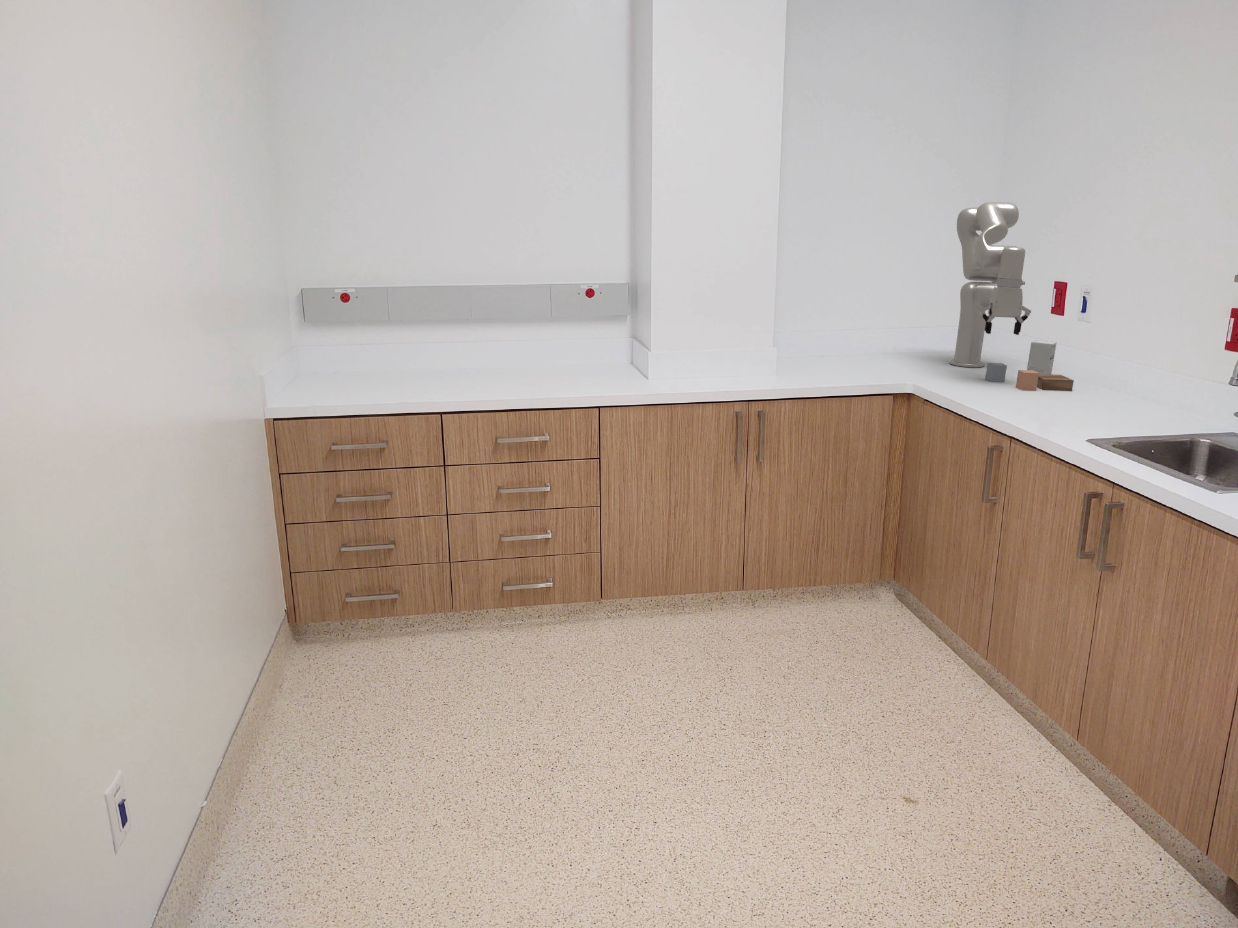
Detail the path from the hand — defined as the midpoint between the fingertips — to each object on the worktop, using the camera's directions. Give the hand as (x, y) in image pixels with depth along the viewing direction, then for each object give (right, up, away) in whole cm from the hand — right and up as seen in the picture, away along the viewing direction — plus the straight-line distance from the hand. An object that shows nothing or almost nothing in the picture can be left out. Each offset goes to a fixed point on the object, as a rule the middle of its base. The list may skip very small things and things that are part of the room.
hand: (1002, 333), depth 319 cm
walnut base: (+15, -19, -4) cm, 25 cm away
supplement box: (+20, -13, +16) cm, 29 cm away
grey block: (0, -16, +5) cm, 17 cm away
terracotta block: (+5, -20, -7) cm, 22 cm away
